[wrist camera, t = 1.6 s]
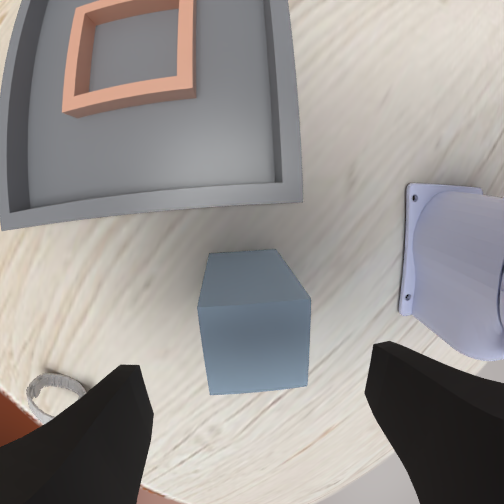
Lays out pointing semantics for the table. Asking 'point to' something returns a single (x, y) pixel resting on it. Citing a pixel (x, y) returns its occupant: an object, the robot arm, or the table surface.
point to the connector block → (253, 323)
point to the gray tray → (147, 109)
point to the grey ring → (59, 381)
